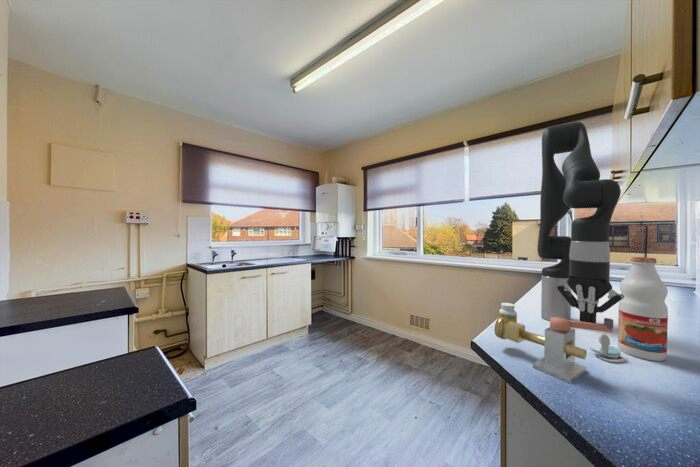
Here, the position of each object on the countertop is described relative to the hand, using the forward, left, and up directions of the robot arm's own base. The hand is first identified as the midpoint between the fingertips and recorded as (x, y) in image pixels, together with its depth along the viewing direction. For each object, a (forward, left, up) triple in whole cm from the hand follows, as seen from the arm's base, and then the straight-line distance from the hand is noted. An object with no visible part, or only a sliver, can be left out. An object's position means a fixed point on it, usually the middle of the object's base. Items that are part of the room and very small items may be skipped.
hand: (587, 325), depth 66 cm
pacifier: (-13, +1, -12) cm, 18 cm away
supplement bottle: (-9, -24, -12) cm, 28 cm away
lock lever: (+3, 0, -1) cm, 3 cm away
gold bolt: (+5, -9, -9) cm, 14 cm away
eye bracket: (+5, -4, -12) cm, 13 cm away
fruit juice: (-25, +5, -12) cm, 28 cm away
